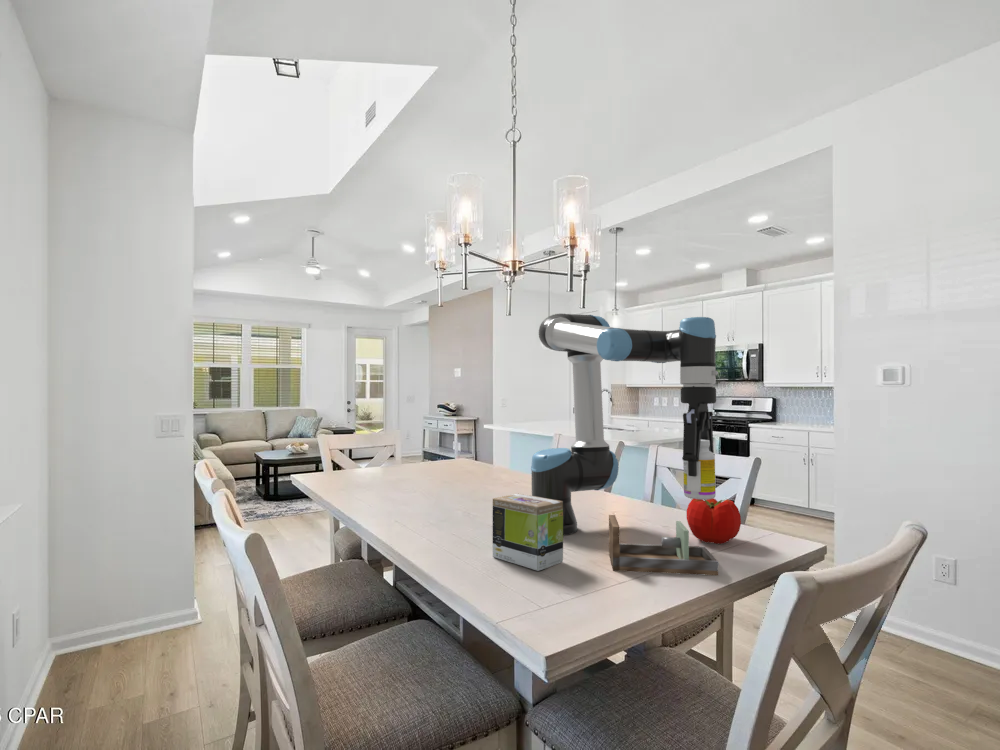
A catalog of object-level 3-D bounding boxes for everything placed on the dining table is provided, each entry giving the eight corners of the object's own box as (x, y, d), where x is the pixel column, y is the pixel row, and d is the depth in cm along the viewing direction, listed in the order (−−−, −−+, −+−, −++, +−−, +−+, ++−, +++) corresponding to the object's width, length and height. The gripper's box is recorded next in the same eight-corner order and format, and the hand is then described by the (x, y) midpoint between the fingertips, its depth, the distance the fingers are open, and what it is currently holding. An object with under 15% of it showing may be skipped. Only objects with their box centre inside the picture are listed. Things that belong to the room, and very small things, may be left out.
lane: (612, 570, 118) (612, 526, 119) (609, 555, 129) (608, 514, 130) (718, 575, 115) (717, 530, 116) (705, 559, 126) (704, 517, 127)
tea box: (564, 562, 124) (564, 500, 125) (537, 572, 117) (537, 507, 117) (518, 548, 135) (518, 491, 135) (490, 557, 128) (491, 497, 128)
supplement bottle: (720, 497, 117) (719, 439, 117) (708, 501, 112) (708, 442, 112) (690, 493, 121) (690, 438, 122) (678, 497, 116) (678, 440, 117)
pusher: (666, 565, 118) (665, 530, 118) (659, 553, 127) (659, 520, 127) (689, 566, 117) (688, 530, 118) (680, 554, 126) (680, 521, 126)
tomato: (747, 540, 142) (747, 497, 142) (726, 552, 132) (725, 506, 132) (700, 531, 151) (699, 490, 151) (677, 541, 141) (676, 498, 142)
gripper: (701, 385, 107) (702, 497, 107) (727, 386, 123) (728, 484, 122) (665, 385, 112) (666, 493, 111) (695, 386, 127) (696, 480, 127)
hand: (699, 488), depth 117 cm, fingers closed on supplement bottle, 7 cm apart
